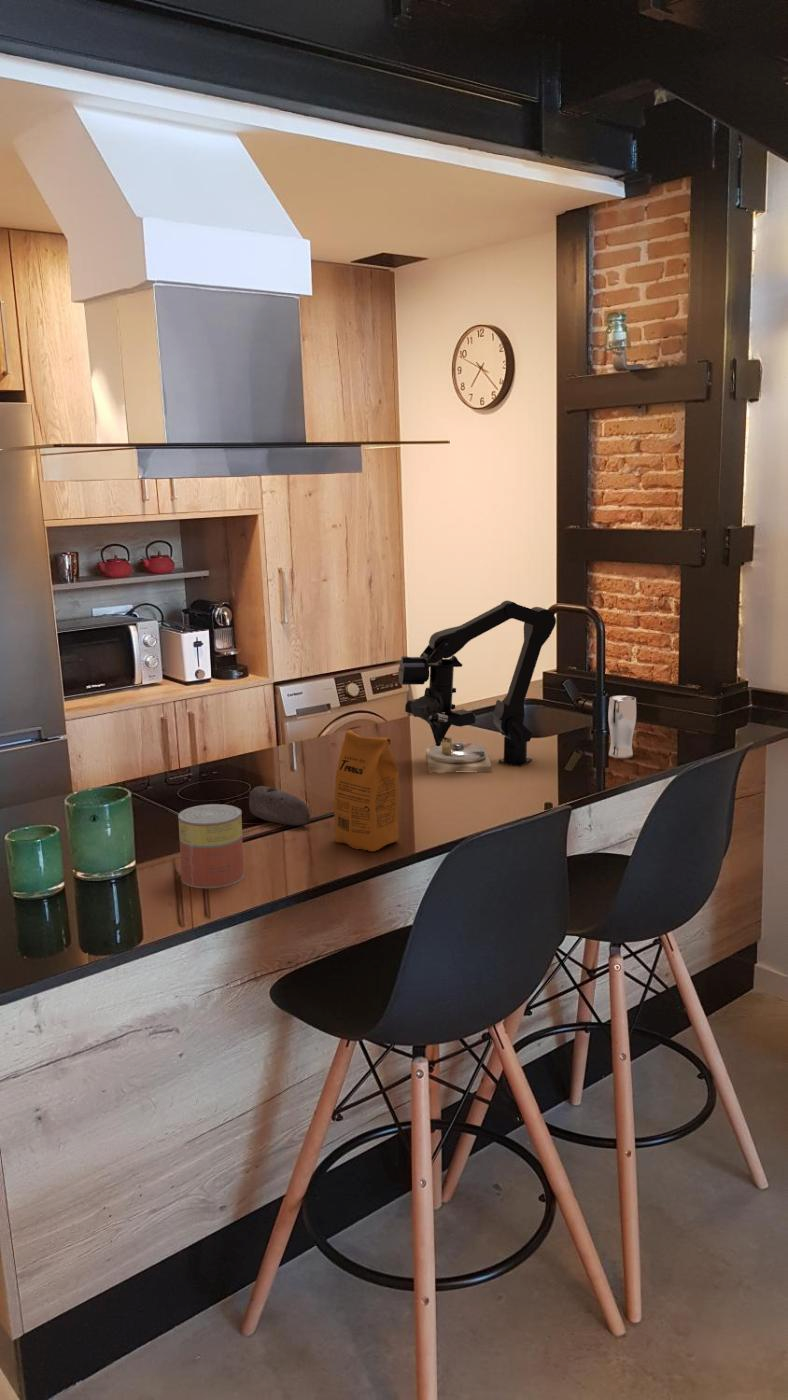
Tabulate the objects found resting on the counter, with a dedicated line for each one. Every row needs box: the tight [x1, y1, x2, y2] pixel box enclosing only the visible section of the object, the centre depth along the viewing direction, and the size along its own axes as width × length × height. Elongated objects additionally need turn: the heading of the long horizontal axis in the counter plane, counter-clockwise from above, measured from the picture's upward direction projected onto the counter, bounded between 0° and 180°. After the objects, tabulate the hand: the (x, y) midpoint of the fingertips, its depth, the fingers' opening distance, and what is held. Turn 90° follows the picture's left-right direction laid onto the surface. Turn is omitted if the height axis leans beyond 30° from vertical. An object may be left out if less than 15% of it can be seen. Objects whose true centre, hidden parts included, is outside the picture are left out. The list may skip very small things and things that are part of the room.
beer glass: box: [607, 695, 637, 759], centre depth 275 cm, size 7×7×15 cm
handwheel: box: [429, 736, 487, 763], centre depth 269 cm, size 14×14×6 cm
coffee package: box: [333, 729, 400, 852], centre depth 211 cm, size 10×12×22 cm
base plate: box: [425, 748, 492, 773], centre depth 270 cm, size 15×18×2 cm
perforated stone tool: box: [248, 785, 311, 827], centre depth 225 cm, size 15×5×7 cm, turn 54°
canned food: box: [177, 803, 245, 889], centre depth 194 cm, size 11×11×12 cm
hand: (438, 745), depth 266 cm, fingers closed
